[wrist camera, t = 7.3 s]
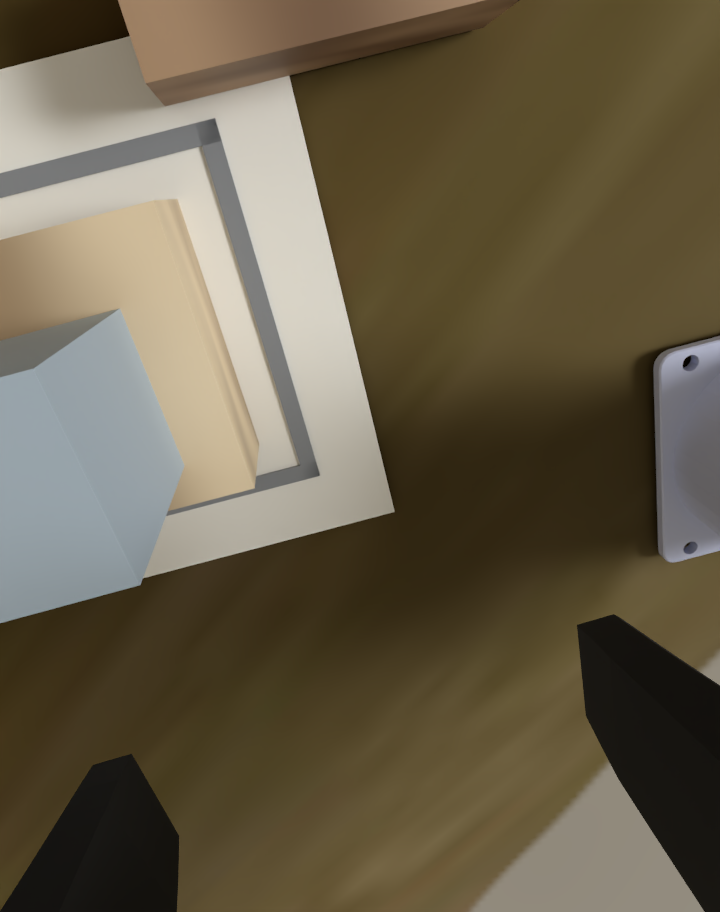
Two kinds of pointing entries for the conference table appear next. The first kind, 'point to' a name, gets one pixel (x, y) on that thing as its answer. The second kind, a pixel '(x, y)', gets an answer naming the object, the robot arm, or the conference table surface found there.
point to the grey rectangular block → (79, 465)
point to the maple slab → (143, 327)
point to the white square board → (214, 272)
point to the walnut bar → (279, 37)
